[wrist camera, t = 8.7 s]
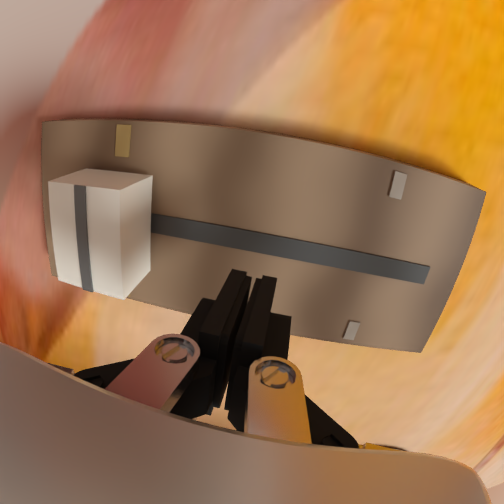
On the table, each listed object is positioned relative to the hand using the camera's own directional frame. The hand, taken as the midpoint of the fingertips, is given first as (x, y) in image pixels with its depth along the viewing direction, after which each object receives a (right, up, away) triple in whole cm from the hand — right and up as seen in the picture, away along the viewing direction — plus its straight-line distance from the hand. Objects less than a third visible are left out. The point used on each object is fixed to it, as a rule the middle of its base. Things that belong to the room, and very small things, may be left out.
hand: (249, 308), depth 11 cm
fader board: (-1, +4, +5) cm, 6 cm away
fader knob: (-7, +4, +3) cm, 8 cm away
